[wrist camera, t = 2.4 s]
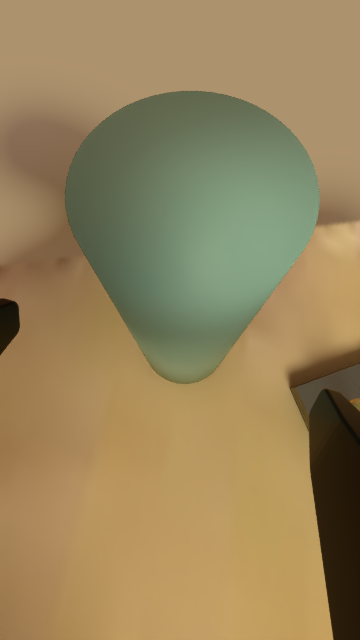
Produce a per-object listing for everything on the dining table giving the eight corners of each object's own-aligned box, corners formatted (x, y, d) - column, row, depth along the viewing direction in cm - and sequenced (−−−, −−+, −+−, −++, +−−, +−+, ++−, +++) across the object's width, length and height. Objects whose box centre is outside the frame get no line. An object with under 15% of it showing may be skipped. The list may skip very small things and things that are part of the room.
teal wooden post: (158, 395, 19) (102, 341, 5) (134, 319, 20) (40, 124, 7) (236, 367, 19) (366, 254, 6) (207, 294, 21) (258, 68, 7)
